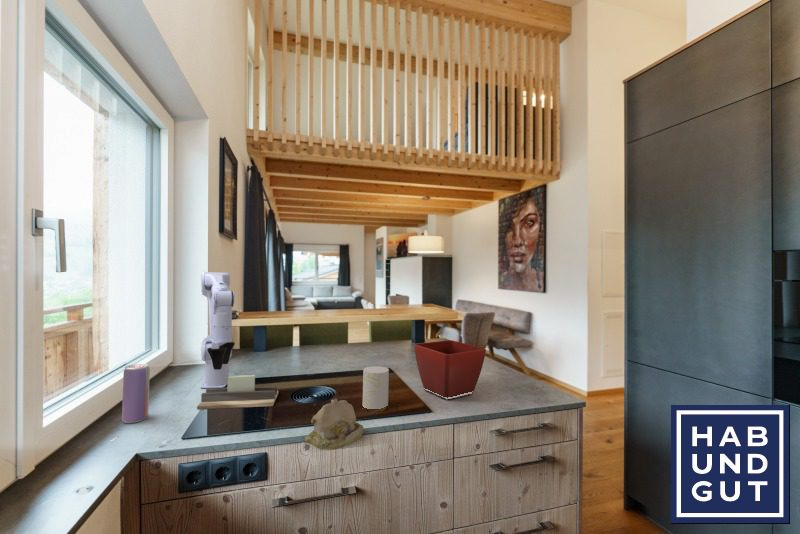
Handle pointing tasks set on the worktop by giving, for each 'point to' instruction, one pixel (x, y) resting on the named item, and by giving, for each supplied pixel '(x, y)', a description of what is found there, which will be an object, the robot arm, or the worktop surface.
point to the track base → (238, 398)
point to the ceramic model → (334, 426)
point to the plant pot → (449, 366)
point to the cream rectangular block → (241, 383)
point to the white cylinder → (375, 387)
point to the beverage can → (135, 393)
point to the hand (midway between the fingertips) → (221, 366)
